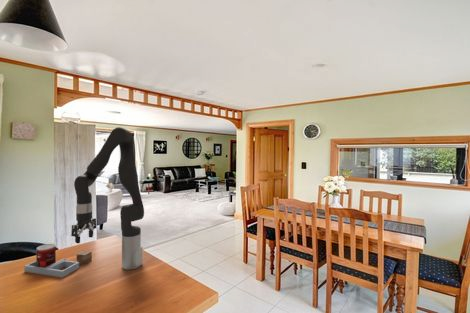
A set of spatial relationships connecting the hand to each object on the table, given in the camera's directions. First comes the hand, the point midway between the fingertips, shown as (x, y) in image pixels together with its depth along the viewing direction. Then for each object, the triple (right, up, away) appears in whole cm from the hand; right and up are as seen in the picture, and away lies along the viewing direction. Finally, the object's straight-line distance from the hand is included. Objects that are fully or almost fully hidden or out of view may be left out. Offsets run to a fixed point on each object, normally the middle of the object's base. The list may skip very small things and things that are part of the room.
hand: (84, 240), depth 134 cm
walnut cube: (0, -12, 0) cm, 12 cm away
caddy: (-10, -12, -8) cm, 18 cm away
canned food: (-16, -12, -7) cm, 21 cm away
